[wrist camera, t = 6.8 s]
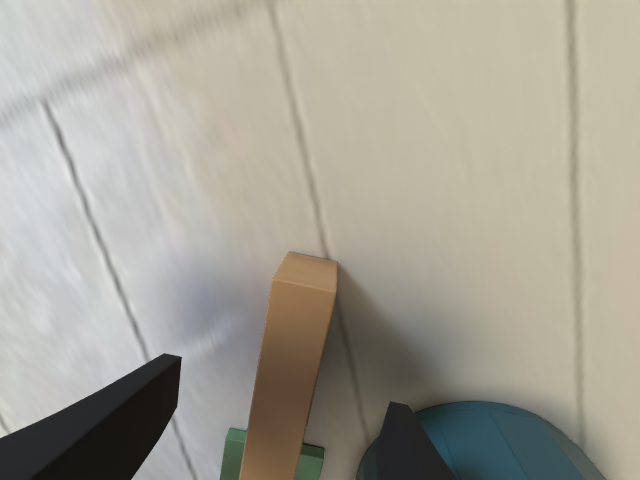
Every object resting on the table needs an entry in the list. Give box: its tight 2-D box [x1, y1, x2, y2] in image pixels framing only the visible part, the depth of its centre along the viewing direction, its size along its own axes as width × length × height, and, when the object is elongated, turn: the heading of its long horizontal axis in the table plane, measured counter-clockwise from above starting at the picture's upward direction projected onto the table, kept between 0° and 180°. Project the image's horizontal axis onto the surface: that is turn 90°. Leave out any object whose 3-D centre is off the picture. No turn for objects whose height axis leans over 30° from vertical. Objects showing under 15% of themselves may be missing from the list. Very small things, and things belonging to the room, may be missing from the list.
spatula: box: [220, 252, 338, 480], centre depth 13 cm, size 16×5×3 cm, turn 169°
